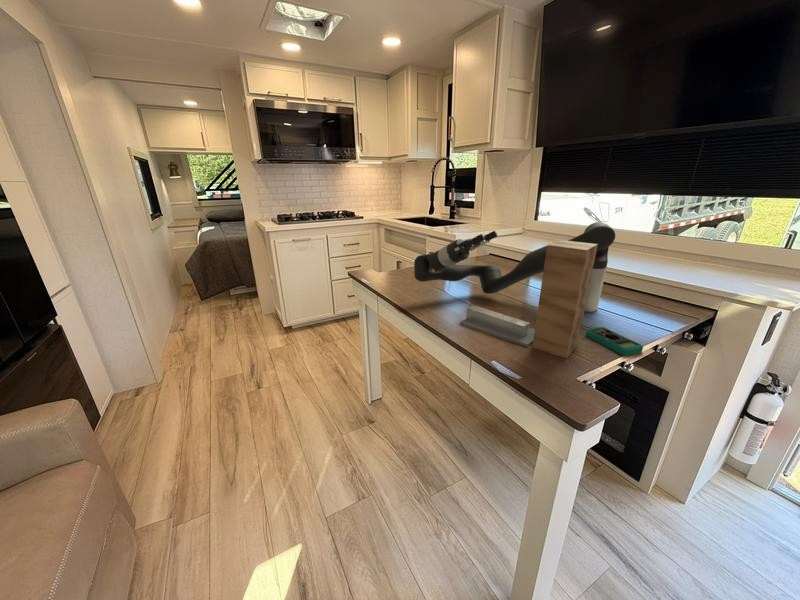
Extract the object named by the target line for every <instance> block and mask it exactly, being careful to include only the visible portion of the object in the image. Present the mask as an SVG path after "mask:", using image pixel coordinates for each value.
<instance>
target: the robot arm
mask: <svg viewBox="0 0 800 600" xmlns="http://www.w3.org/2000/svg"><path fill="white" fill-rule="evenodd" d="M498 236H499V235H498V232H497V231H496V230H494V231H493V230H492V231H490V232H489V233H487V234H483V233H481V234H479V235H476V236H474V237H473V238H468V239H465V240H463V239H461V238H458V239H455V240H454V241H451V242H450V243H448V244H446V245H444V246H443V247H442V248H440V249H438V250H437V251H435V252H432V253H428V254H421V255H418V256H417V257H416V258H415V259H414V262H413V265H414V267H413V268H414V273H413V274H414V275H413V277H414V278H415V280H417V281H418V282H422V283H424V282H429V281H440V280H441V281H447V282H448V281H449V282H458V281H461V280H463V279H465V278H467V277H470V276H472V277H473V276H474V277H479V282H480V287H481V290H482V292H483V293H485V294H487V295H489V294H495V293H498V292H501V291H504V290H505V289H507V288H509V287H511V286H513V285H515V284H516V283H519V282H522V281H523V280H525V279H530V278H531V277H533V276H536V275H539V274H543V271H544V264H545V257H546V251H547V245H545V246H542V247H540V248H538V249H535V250H533V251H530V252H528V253H526V255H525V256H523V258H522V259H521V260H520V261H519V263H518V264H517V265H516V266H515V267H514V268H513V269H512V270H511V271H509V272H508V273H506V274H504V275H502V272H501V269H500V267H498V266H496V265H493V264H491V265H490V264H472V265H471V264H469V265H467V264H466V265H462V264H458V263H460V262H461V261H464V260H466V259H468V258H469V256H470V252H472V251H475V250H476V249H477V248H479V247H482V246H483V245H485V244H487V243H490V242H491V240H494V239H495V238H498ZM615 239H616V231H615V229H614V228H612V227H611V226H610V225H609V224H607V223H605V222H603V221H602V222H601V221H600V222H599V221H598V222H593V223H591V224H589V225H588V226H587V227H586V228H585V229H584V232H583V233H581V234H579V235H577V236H575V237H573V238H571V239H568V240H567V241H574V242H583V243H592V244H598V246H597V251H596V256H595V261H594V266H593V271H592V276H591V281H590V286H589V291H588V296H587V301H586V305H585V310H584V312H587V313H593V312H596V311H598V307H599V304H600V299H601V295H602V291H603V286H604V280H605V276H606V271H607V266H608V263H609V261H608V259H609V257H608V256H609V255H608V254H609V250H610V249H609V247H610V246H611V245H612V244H613V243H614V242H615ZM432 270H434V271H432Z"/></svg>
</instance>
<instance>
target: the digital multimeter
mask: <svg viewBox="0 0 800 600" xmlns="http://www.w3.org/2000/svg"><path fill="white" fill-rule="evenodd" d="M585 337H587V338H589V339H591V340H592V341H595V342H597V343H599V344H601V345H603V346H605V347H607V348H608V349H610V350H612V351H614V352H615V353H617V354H619V355H621V356H623V357H626V356H634V355H637V354H641V353H642V352H643V351H644V346H643V345H642V344H640V343H639V342H636V341H634V340H631V339H629V338H627V337H625V336H622V335H620V334H618V333H616V332H614V331H612V330H610V329H608V328H606V327H604V326H597V327H593V328H590V329H588V330H586V332H585Z"/></svg>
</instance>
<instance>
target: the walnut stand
mask: <svg viewBox="0 0 800 600" xmlns="http://www.w3.org/2000/svg"><path fill="white" fill-rule="evenodd" d="M546 246H547V251H546V257H545V264H544V271H543V272H542V278H541V279H542V281H541V285H540V286H541V287H540V292H539V299H538V306H537V313H536V320H535V326H534V327H535V328H534V329H535V332H534V339H533V343H532V347H531V348H533V349H536V350H539V351H542V352H545V353H549V354H551V355H554V356H557V357H559V358H560V357H561V358H563V359H567V358H569V356H570V355H571V354H572V352H574V351H575V349H576V348H578V345H579V340H580V339H579V338H580V334H581V329H582V326H583V325H582V324H583V319H584V315H585V311H584V310H585V305H586V301H587V296H588V291H589V286H590V281H591V276H592V271H593V266H594V261H595V256H596V251H597V246H598V244H592V243H583V242H574V241H568V240H566V239H565V240H563V239H560V240H556V241H554V242H552V243H549V244H546Z"/></svg>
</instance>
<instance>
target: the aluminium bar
mask: <svg viewBox="0 0 800 600" xmlns="http://www.w3.org/2000/svg"><path fill="white" fill-rule="evenodd" d="M466 318H467V319H470V320H473V321H476V322H479V323H482V324H485V325H488V326H490V327H493V328H496V329H499V330H502V331H505V332H508V333H511V334H513V335H516V336H519V337H522V338H523V337H524V336H526V335H527V334H528V332H529V328H530V324H531V322H529V321H526V320H522V319H519V318H516V317H512V316H509V315H507V314H504V313H500V312H496V311H493V310H489V309H486V308H483V307H481V306H478V305H474V304H473V305H471V306H469V307H467V308H466V317H465V319H466Z"/></svg>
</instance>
